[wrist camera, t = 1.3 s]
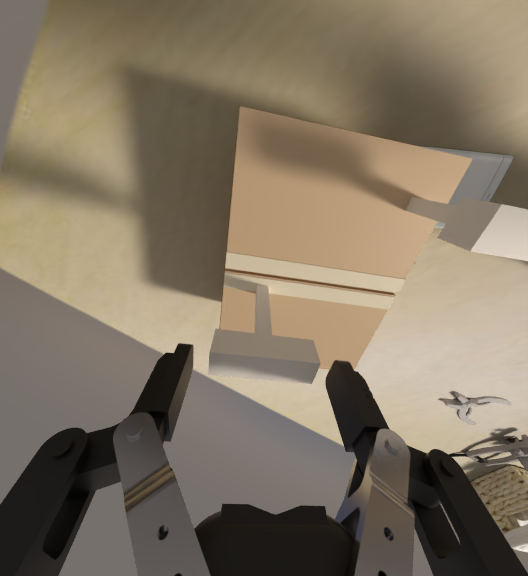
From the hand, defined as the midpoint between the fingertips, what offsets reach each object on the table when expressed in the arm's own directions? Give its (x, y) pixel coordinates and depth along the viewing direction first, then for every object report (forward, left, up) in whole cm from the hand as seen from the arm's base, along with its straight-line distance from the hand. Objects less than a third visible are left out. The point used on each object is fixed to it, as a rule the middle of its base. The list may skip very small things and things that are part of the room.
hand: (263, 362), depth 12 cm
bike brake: (-72, +47, -19) cm, 88 cm away
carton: (-5, -1, -19) cm, 20 cm away
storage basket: (-92, +64, -19) cm, 114 cm away
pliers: (-53, +29, -20) cm, 63 cm away
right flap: (-5, +4, -9) cm, 11 cm away
